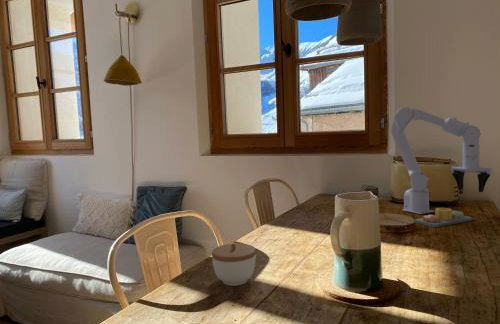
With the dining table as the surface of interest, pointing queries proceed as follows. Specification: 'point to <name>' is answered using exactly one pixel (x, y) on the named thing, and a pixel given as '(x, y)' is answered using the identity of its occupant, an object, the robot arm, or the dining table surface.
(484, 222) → the dining table surface
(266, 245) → the dining table surface
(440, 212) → the loose gear
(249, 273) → the lidded jar
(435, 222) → the gear board
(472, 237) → the dining table surface
